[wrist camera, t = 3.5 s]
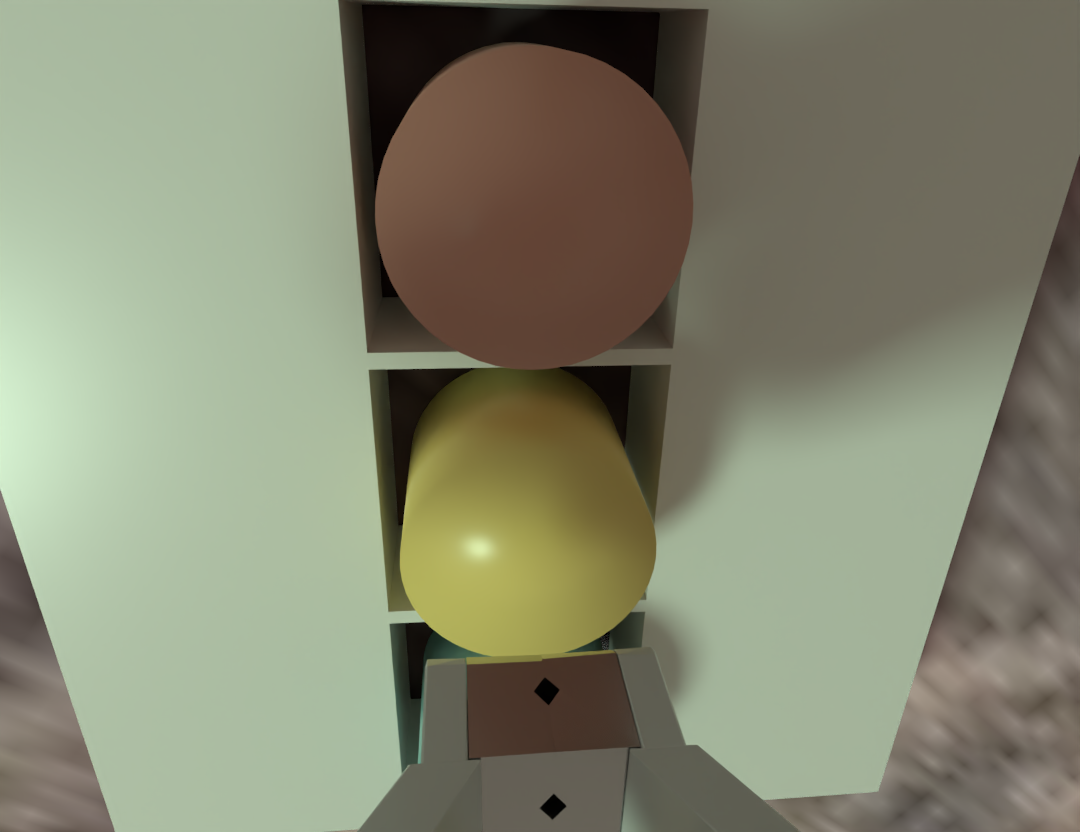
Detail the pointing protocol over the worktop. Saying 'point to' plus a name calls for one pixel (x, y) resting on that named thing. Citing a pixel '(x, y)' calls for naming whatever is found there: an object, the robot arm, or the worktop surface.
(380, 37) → the worktop surface
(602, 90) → the salmon brown ball
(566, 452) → the button mustard
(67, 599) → the panel
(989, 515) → the worktop surface
